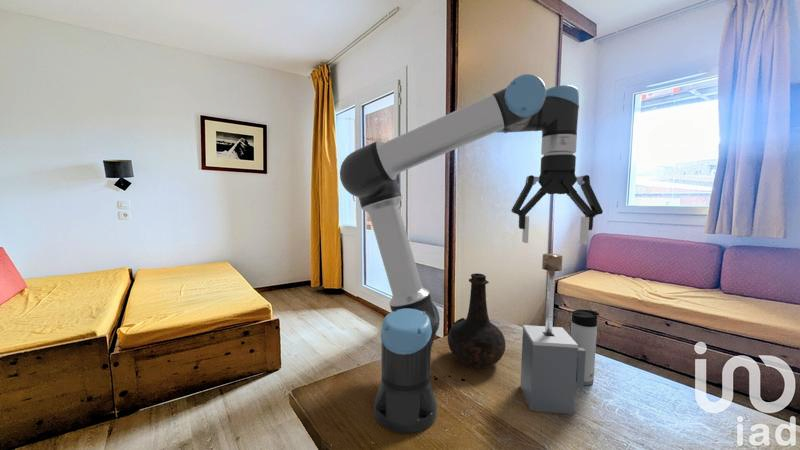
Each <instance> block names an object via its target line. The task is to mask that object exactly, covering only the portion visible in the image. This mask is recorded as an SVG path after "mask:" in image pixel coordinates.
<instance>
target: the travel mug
mask: <svg viewBox="0 0 800 450" xmlns="http://www.w3.org/2000/svg"><path fill="white" fill-rule="evenodd" d="M598 317H600V313H599V312H598V311H596V310H589V309H575V310H573V311H572V312H571V320H570V321H571V322H570V336H571V338H572V339H573V340H574V341H575V342H576V343H577V344H578V348H584V350H585V351H586V355H585V371H584V386H590V385H593V384H594V380H595V379H594V378H595V362H596V347H597V336H598V335H597V333H598V332H597V331H598V330H597V329H598Z"/></svg>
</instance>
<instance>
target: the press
mask: <svg viewBox="0 0 800 450" xmlns="http://www.w3.org/2000/svg"><path fill="white" fill-rule="evenodd" d="M545 326H546V325H542V326H541V325H531V324H530V325H529V324H528V325H527V324H526V325H525V324H524V325H522V341H521V343H522V344H521V345H522V346H521V364H520V366H521V367H520V388H521V392H522V393H523V395H524V398H525V401H526V404H527V406H528V409H529V410H530V411H535V412H536V411H537V412H546V413H556V414H558V413H559V414H567V415H574V414H575V400H576V389H577V390H584V388H585V387H584V386H585V385H584V371H585V355H586V351H585V350H584V348H578V344H577V343H576V342H575V341H574V340H573V339H572V338H571V334H569V333H568V332H567V330H565V328H564V327H562V326H561V327H559V326H553V327H552V336H545Z"/></svg>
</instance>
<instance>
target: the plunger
mask: <svg viewBox="0 0 800 450" xmlns="http://www.w3.org/2000/svg"><path fill="white" fill-rule="evenodd" d="M541 262H542V263H541V269H542V270H545V271H547V289H546V309H545V325H544V326H545V336H552V327H554V326H553V323H554V307H555V306H554V304H555V302H554V301H555V284H556V272H561V271H563V255H562V254H559V253H558V254H557V253H543V254H542V261H541Z"/></svg>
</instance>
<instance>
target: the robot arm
mask: <svg viewBox="0 0 800 450" xmlns="http://www.w3.org/2000/svg"><path fill="white" fill-rule="evenodd" d="M579 96H580V94H579V89H578V88H577V87H576V86H574V85H570V84H563V85H558V86H551V87H550V88H548V89H547V88H546V85H545V82H544V81H543V80H542V79H541V78H540V77H539V76H537V75H535V74H530V73H525V74H521V75H519V76H516V77H515V78H514V79H513V80H511V81H510V83H509V84H508V85H507V87H505V88H503V89H501V90H498V91H496V92H494V93H492V94H490V95H488V96H486V97H484V98H481V99H479V100H476V101H474V102H472V103H471V104H468V105H465V106H463V107H460V108H459V109H457V110H454V111H452V112H450V113H448V114H445V115H443V116H441V117H438V118H437V119H434V120H432V121H429V122H428V123H426V124H423V125H421V126H418V127H417V128H414V129H411V130H409V131H408V132H405V133H403V134H401V135H399V136H396V137H394V138H392V139H389V140H387V141H385V142H384V141H381V140H376V141H374V142H371V143H369V144H367V145H365V146H363V147H361V148H359V149H356V150H353V152H350V154H348V155H347V156H346V157H345V158H344V159H343V161H342V163H341V165H340V169H339V179H340V181H341V185H342V187H343V188H344V189H345V191H347V192H348V193H349V194H350V195H351V196H352V195H353V196H354V197H357V198H358V201H359V204H360V208H361V210H363V211H364V212H366V213H368V215H369V219H370V222H371V227H372V229H373V232H374V236H375V238H376V239H375V240H376V243H377V246H378V250H379V253H380V256H381V261H382V263H383V266H384V271H385V274H386V278H387V281H388V283H389V286H390V287H389V288H390V291H391V295H392V297H391V299H390V301H389V308H390V311H391V312H389V313H388V314H387V315H386V316H385V317H384V318H383V320H382V323H381V329H380V338H381V339H380V340H381V381H380V383H379V387H378V389H377V392H376V395H375V399H374V403H373V415H374V418H375V420H376V422H377V423H378V424H379V425H380V426H382V427H383V428H385V429H386V430H388V431H390V432H393V433H397V434H404V435H405V434H409V435H410V434H417V433H419V432H423V431H425V430H427V429H428V428H430V427H431V426H432V425H433V424H434V423H435V421H436V419H437V416H438V404H437V399H436V396H435V392H434V389H433V386H432V383H431V382H432V381H431V353H432V347H433V344H434V341H435V338H436V336H437V332H438V331H439V327H440V321H441V317H440V312H439V309H438V306H437V305H436V303H435V302H434V301H433V300H432V297H431V293H430V291H429V289H426V288H425V287H423V286H422V281H421V278H420V275H419V271H418V267H417V264H416V260H415V258H414V254H413V251H412V247H411V244H410V240H409V237H408V233H407V230H406V226H405V222H404V220H403V219H404V218H403V216H402V212H401V208H400V206H399V205H400V202H401V200H402V198H403V196H402V193H401V189H400V186H399V185H400V173H402V172H405V171H407V170H409V169H412V168H413V167H416V166H419V165H421V164H424V163H425V162H428V161H431V160H433V159H436V158H437V157H440V156H442V155H445V154H447V153H450V152H452V151H453V150H456V149H459V148H461V147H463V146H466V145H469V144H471V143H473V142H476V141H478V140H480V139H482V138H485V137H487V136H490V135H491V134H495V133H500V134H501V133H502V134H503V133H504V134H507V133H523V132H524V133H525V132H540V131H541V148H540V151H541V153H540V154H541V155H542V157H541V158H540V170H539V171H540V173H539V176H534V175H527V177H526V179H525V185H524V187H523V188H522V189H521V192H520V194H519V196H518V197H517V199H516V200H515V203H514V204H513V206H512V207H511V211H510V212H511V213H512V214H516V215H517V216H518V228H519V229H520V230H522V234H521V235H522V238H521V240H522V243H524V244H529V233H530V232H529V227H530V216H528V215H527V214H528V213H529V212H530V211H531V210H532V209H533V208H534V207H535V206H536V204H538V202H539V201H541V199H542V198H543V197H544V196H546V195H547V194H548V195H566V196H567V197H569V199H571V201H573V203H574V204H575V206H576V207H578V209H579V211H581V213H583V215H584V216H580V227H579V228H580V229H579V230H580V231H579V232H580V233H579V243H580V244H582V245H589V231H592V230H593V228H594V218H595V217H596V216H598V215H601V214H603V213H604V211H603V209H602V207H601V205H600V204H601V203H600V202H599V200H598V199H597V196H596V193H595V192H594V190H593V187H592V186H591V179H590V175H589V174H586V175H585V174H584V175H581V176H576V174H575V173H576V161H577V157H576V155H574V154H575V153H576V152H577V145H578V144H577V143H578V142H577V139H578V136H577V135H578V123H579V122H578V120H579V119H578V118H579V109H580V104H579V103H580V102H579V101H580V99H579V98H580V97H579ZM537 183H538V184H539V185H540V188H539V189H538V190H537V191H536V193H535V194H534V195H533V196H532V197H531V198H530V200H528V202H526V204H525V205H524V206H523V204H524V202H525V200H526V199H527V197H528V195H529V194H530V191H531V190H532V188H533V186H535V185H536V184H537ZM576 183H577V185H579V186H580V189H581V191H582V193H583V196H584V197H585V199H586V201H587V202H585V200H584V199H583V198H582V197H581V196H580V194H579V193H578V191H577V190H576V189H575V187H574V185H575V184H576ZM587 203H588V204H587ZM522 206H523V207H522Z"/></svg>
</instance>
